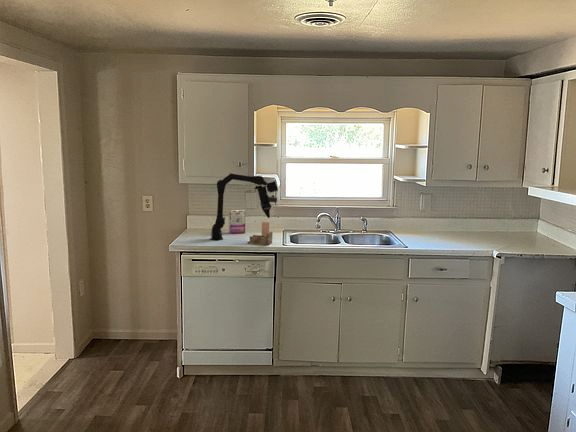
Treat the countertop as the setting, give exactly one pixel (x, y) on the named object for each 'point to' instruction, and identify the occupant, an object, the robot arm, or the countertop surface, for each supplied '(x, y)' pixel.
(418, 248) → the countertop surface
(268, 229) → the clay strip
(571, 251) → the countertop surface
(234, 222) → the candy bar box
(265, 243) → the drying rack
